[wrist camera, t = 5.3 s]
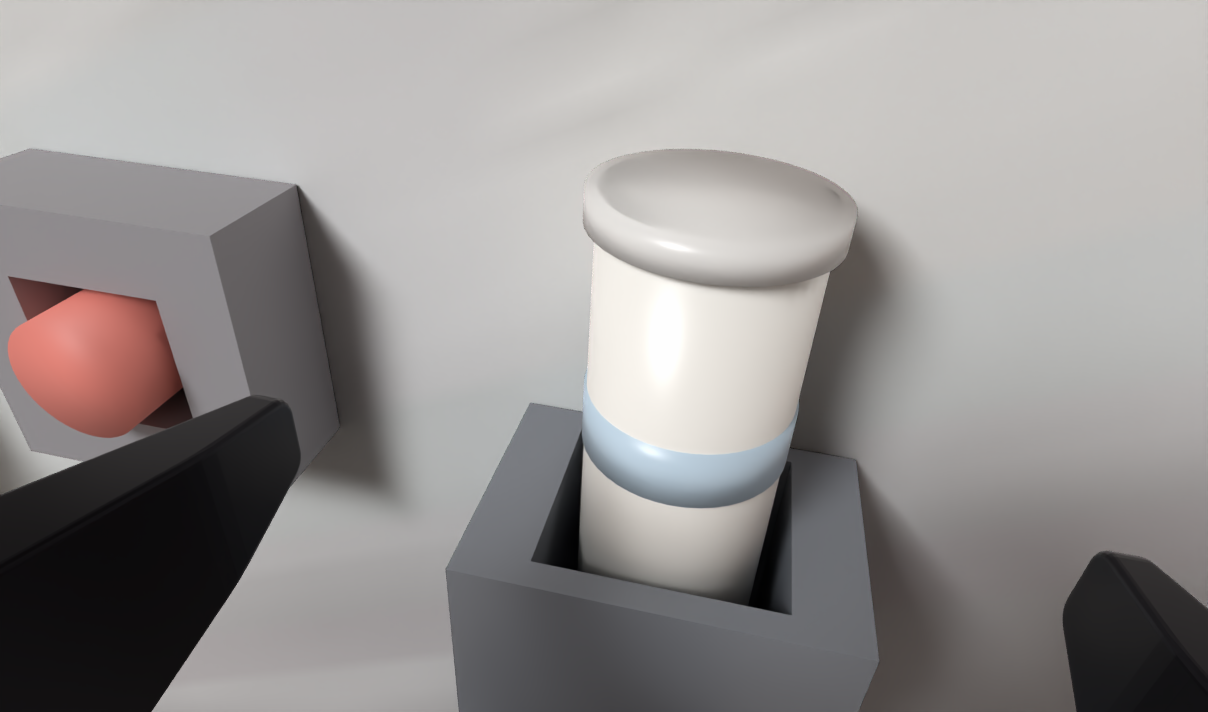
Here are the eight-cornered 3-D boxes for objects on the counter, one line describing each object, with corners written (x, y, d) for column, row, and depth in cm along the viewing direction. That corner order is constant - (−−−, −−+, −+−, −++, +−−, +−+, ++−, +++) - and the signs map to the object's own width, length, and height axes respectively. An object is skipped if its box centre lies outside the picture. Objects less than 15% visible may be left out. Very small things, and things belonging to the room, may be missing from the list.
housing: (804, 622, 21) (808, 829, 16) (530, 565, 22) (461, 743, 17) (855, 459, 17) (879, 661, 13) (530, 402, 19) (445, 569, 14)
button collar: (339, 427, 20) (277, 501, 18) (118, 386, 21) (31, 450, 19) (296, 184, 17) (209, 235, 14) (29, 148, 18) (-95, 190, 15)
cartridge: (745, 596, 20) (734, 753, 16) (587, 564, 21) (544, 708, 17) (848, 165, 13) (870, 267, 10) (613, 137, 14) (552, 223, 10)
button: (252, 362, 19) (154, 448, 16) (151, 344, 20) (38, 425, 17) (226, 258, 18) (112, 333, 15) (117, 242, 18) (-15, 311, 15)
